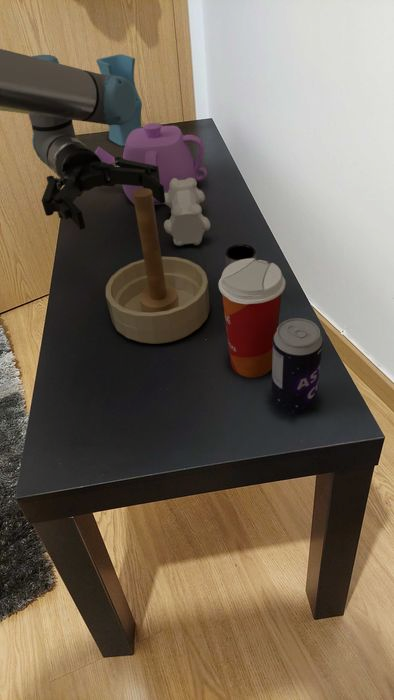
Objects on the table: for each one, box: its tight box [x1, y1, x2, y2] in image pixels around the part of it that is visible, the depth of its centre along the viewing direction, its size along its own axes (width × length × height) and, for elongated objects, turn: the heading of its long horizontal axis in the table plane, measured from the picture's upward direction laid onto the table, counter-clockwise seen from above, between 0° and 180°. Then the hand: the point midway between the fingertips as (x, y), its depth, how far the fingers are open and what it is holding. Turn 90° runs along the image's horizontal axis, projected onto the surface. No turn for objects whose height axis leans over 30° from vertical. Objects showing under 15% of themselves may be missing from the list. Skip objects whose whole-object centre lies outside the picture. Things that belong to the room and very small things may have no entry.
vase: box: [95, 53, 143, 147], centre depth 136 cm, size 8×8×20 cm
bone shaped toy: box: [163, 178, 211, 247], centre depth 99 cm, size 15×9×8 cm, turn 5°
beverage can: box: [271, 317, 324, 415], centre depth 62 cm, size 6×6×12 cm
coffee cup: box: [218, 258, 286, 378], centre depth 67 cm, size 8×8×15 cm
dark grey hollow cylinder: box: [224, 243, 257, 268], centre depth 78 cm, size 4×4×10 cm
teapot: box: [94, 122, 208, 206], centre depth 111 cm, size 19×21×14 cm
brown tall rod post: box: [133, 188, 179, 313], centre depth 75 cm, size 6×6×20 cm
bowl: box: [105, 256, 211, 345], centre depth 80 cm, size 16×16×6 cm
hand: (123, 207), depth 78 cm, fingers open, 13 cm apart
